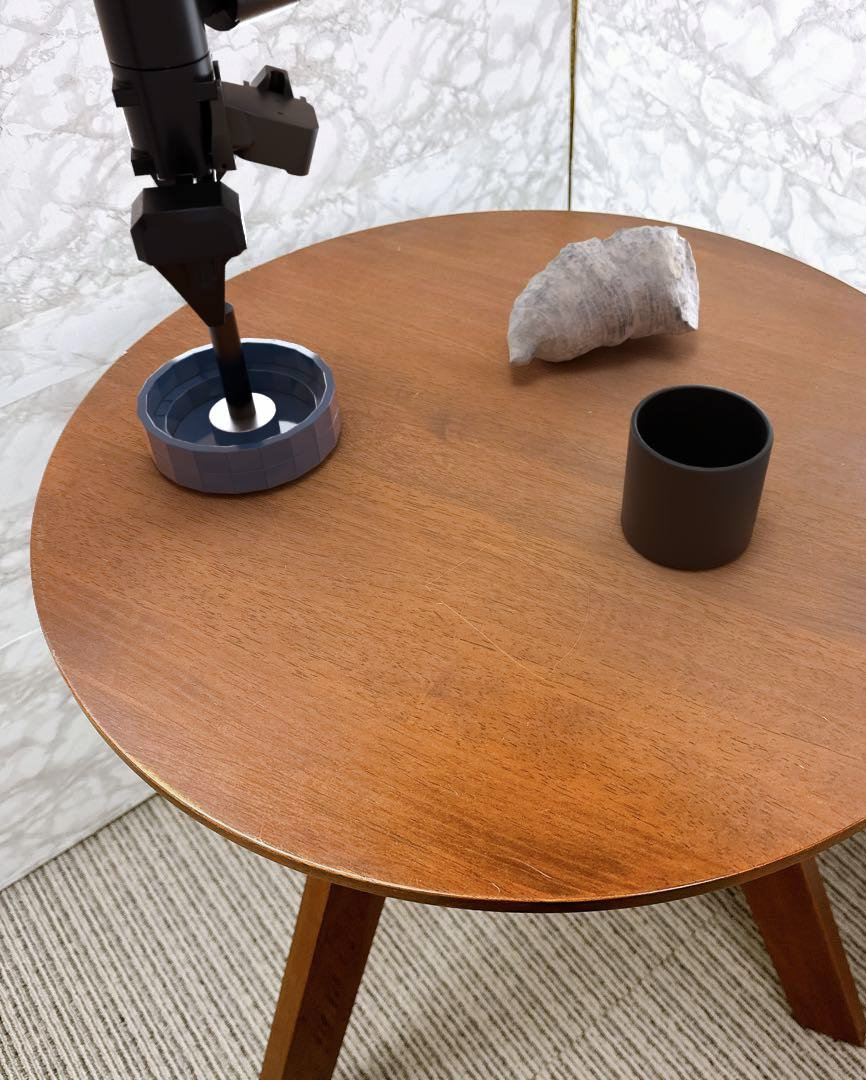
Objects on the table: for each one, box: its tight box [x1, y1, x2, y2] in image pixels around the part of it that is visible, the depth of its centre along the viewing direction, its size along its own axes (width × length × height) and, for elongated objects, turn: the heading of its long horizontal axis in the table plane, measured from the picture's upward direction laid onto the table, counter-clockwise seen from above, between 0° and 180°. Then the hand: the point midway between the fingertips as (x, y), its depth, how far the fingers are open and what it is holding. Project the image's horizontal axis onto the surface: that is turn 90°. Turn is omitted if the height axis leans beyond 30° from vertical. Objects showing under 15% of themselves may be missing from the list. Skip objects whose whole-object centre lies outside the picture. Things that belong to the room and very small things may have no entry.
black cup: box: [620, 383, 775, 571], centre depth 71 cm, size 9×12×9 cm
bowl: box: [136, 337, 342, 495], centre depth 78 cm, size 14×14×4 cm
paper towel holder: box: [207, 301, 280, 447], centre depth 75 cm, size 5×5×11 cm
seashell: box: [506, 224, 701, 367], centre depth 86 cm, size 16×15×10 cm
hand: (214, 290), depth 71 cm, fingers open, 9 cm apart
